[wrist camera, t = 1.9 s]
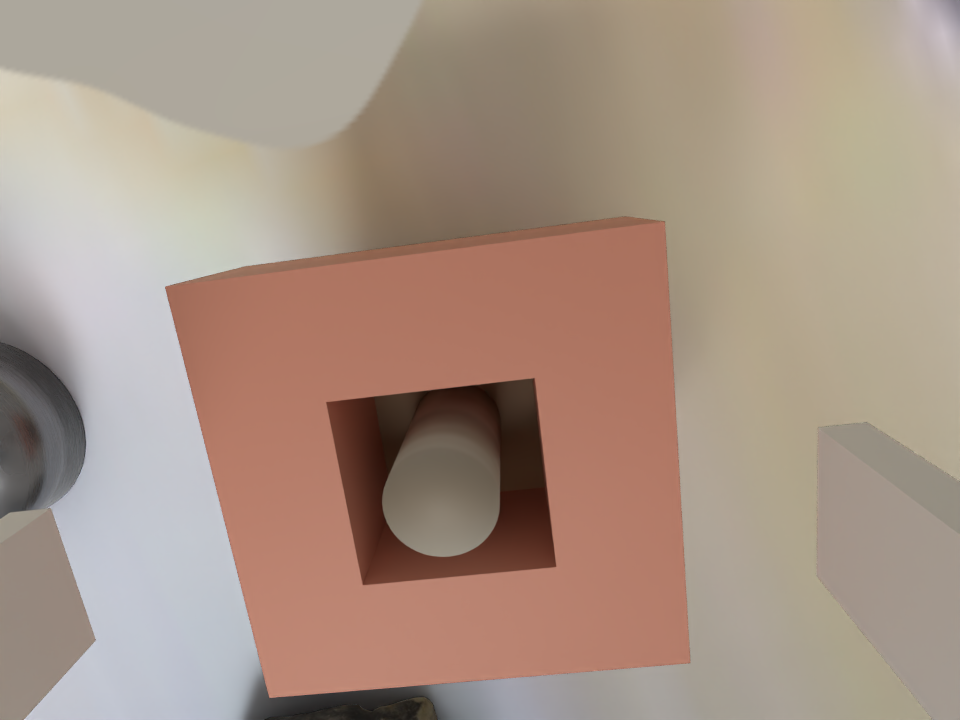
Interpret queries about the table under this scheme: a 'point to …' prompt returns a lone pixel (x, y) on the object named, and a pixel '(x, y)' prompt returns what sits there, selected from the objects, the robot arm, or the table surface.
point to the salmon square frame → (363, 473)
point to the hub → (35, 434)
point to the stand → (456, 461)
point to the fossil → (373, 712)
